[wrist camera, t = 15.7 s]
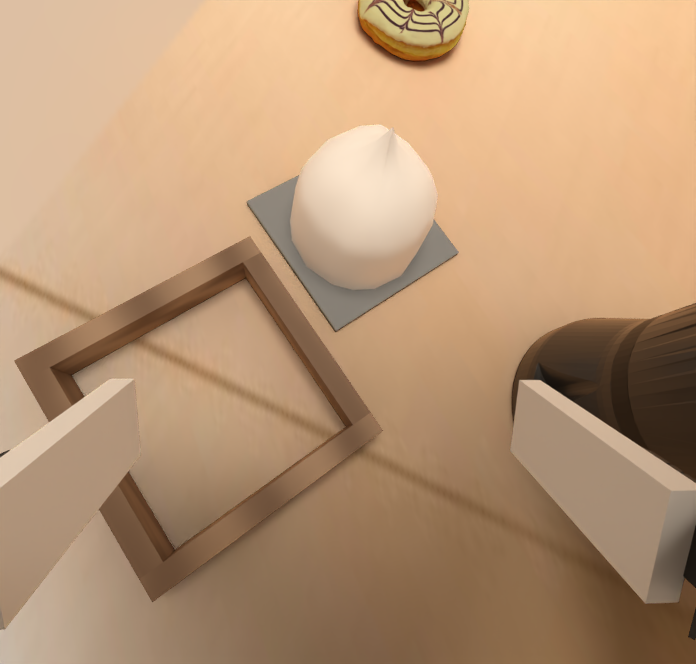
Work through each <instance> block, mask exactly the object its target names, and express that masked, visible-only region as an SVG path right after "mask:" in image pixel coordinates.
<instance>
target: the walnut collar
mask: <svg viewBox="0 0 696 664" xmlns="http://www.w3.org/2000/svg"><path fill="white" fill-rule="evenodd" d="M244 278H246V279H247V280H248V282H249V283H250V285H251V286H252V288H253V289H254V291H255V292H256V293H257V295H258V296H259V298H260V299H261V301H262V302H263V304H264V305H265V307H266V308H267V310H268V311H269V313H270V314H271V316H272V317H273V319H274V320H275V322H276V323H277V325H278V326H279V328H280V329H281V331H282V332H283V334H284V335H285V337H286V338H287V340H288V341H289V343H290V344H291V345H292V347H293V348H294V350H295V351H296V353H297V354H298V356H299V357H300V359H301V360H302V362H303V363H304V365H305V366H306V368H307V369H308V371H309V372H310V374H311V375H312V377H313V378H314V380H315V381H316V383H317V384H318V386H319V387H320V389H321V390H322V392H323V393H324V395H325V396H326V398H327V399H328V400H329V402H330V403H331V405H332V406H333V408H334V409H335V411H336V412H337V414H338V415H339V417H340V418H341V420H342V421H343V423H344V424H345V426H346V427H345V428H344V429H343V430H341V431H340V432H338V433H337V434H336V435H334V436H333V437H331V438H330V439H329V440H327V441H326V442H324V443H323V444H322V445H320V446H319V447H318V448H316V449H315V450H313V451H312V452H311V453H309V454H308V455H306V456H305V457H304V458H302V459H301V460H299V461H298V462H297V463H295V464H294V465H292V466H291V467H290V468H288V469H287V470H286V471H284V472H283V473H281V474H280V475H279V476H277V477H276V478H274V479H273V480H272V481H270V482H269V483H267V484H266V485H265V486H263V487H262V488H260V489H259V490H258V491H256V492H255V493H254V494H252V495H251V496H249V497H248V498H247V499H245V500H244V501H242V502H241V503H240V504H238V505H237V506H235V507H234V508H233V509H231V510H230V511H229V512H227V513H226V514H224V515H223V516H222V517H220V518H219V519H217V520H216V521H215V522H213V523H212V524H210V525H209V526H208V527H206V528H205V529H203V530H202V531H201V532H199V533H198V534H197V535H195V536H194V537H192V538H191V539H190V540H188V541H187V542H185V543H184V544H183V545H181V546H180V547H178V548H177V549H176V550H174V548H173V547H172V545H171V543H170V542H169V540H168V538H167V536H166V535H165V533H164V531H163V530H162V528H161V526H160V525H159V523H158V521H157V519H156V518H155V516H154V514H153V513H152V511H151V509H150V508H149V506H148V504H147V503H146V501H145V499H144V497H143V496H142V494H141V492H140V491H139V489H138V487H137V486H136V484H135V482H134V480H133V479H132V477H131V475H130V474H129V472H127V474H126V475H125V476H124V477H123V479H122V480H121V481H120V483H119V484H118V485H117V486H116V488H115V489H114V490H113V492H112V493H111V494H110V495H109V497H108V498H107V499H106V501H105V502H104V503H103V504H102V506H101V507H100V508H99V510H100V512H101V513H102V515H103V517H104V519H105V520H106V522H107V524H108V526H109V527H110V529H111V531H112V533H113V534H114V536H115V538H116V539H117V541H118V543H119V545H120V546H121V548H122V550H123V552H124V553H125V555H126V557H127V559H128V560H129V562H130V564H131V566H132V567H133V569H134V571H135V573H136V574H137V576H138V578H139V580H140V581H141V583H142V585H143V587H144V588H145V590H146V592H147V594H148V595H149V597H150V599H151V601H152V602H153V601H155V600H156V599H157V598H159V597H160V596H161V595H163V594H164V593H165V592H167V591H168V590H169V589H171V588H172V587H173V586H175V585H176V584H178V583H179V582H180V581H182V580H183V579H184V578H186V577H187V576H188V575H190V574H191V573H192V572H194V571H195V570H196V569H198V568H199V567H200V566H202V565H203V564H204V563H206V562H207V561H208V560H210V559H211V558H212V557H214V556H215V555H217V554H218V553H219V552H221V551H222V550H223V549H225V548H226V547H227V546H229V545H230V544H231V543H233V542H234V541H235V540H237V539H238V538H239V537H241V536H242V535H243V534H245V533H246V532H247V531H249V530H250V529H251V528H253V527H254V526H255V525H257V524H258V523H260V522H261V521H262V520H264V519H265V518H266V517H268V516H269V515H270V514H272V513H273V512H274V511H276V510H277V509H278V508H280V507H281V506H282V505H284V504H285V503H286V502H288V501H289V500H290V499H292V498H293V497H294V496H296V495H297V494H299V493H300V492H301V491H303V490H304V489H305V488H307V487H308V486H309V485H311V484H312V483H313V482H315V481H316V480H317V479H319V478H320V477H321V476H323V475H324V474H325V473H327V472H328V471H329V470H331V469H332V468H333V467H335V466H336V465H337V464H339V463H340V462H342V461H343V460H344V459H346V458H347V457H348V456H350V455H351V454H352V453H354V452H355V451H356V450H358V449H359V448H360V447H362V446H363V445H364V444H366V443H367V442H368V441H370V440H371V439H372V438H374V437H375V436H376V435H378V434H379V433H381V432H382V431H383V430H382V429H381V427H380V426H379V424H378V423H377V421H376V420H375V418H374V417H373V415H372V414H371V412H370V411H369V410H368V408H367V407H366V405H365V404H364V402H363V401H362V399H361V398H360V396H359V395H358V393H357V392H356V391H355V389H354V388H353V386H352V385H351V383H350V382H349V380H348V379H347V377H346V376H345V374H344V373H343V372H342V370H341V369H340V367H339V366H338V364H337V363H336V361H335V360H334V358H333V357H332V355H331V354H330V353H329V351H328V350H327V348H326V347H325V345H324V344H323V342H322V341H321V339H320V338H319V336H318V335H317V334H316V332H315V331H314V329H313V328H312V326H311V325H310V323H309V322H308V320H307V319H306V317H305V316H304V315H303V313H302V312H301V310H300V309H299V307H298V306H297V304H296V303H295V301H294V300H293V298H292V297H291V296H290V294H289V293H288V291H287V290H286V288H285V287H284V285H283V284H282V282H281V281H280V280H279V278H278V277H277V275H276V274H275V272H274V271H273V269H272V268H271V266H270V265H269V263H268V262H267V261H266V259H265V258H264V256H263V255H262V253H261V252H260V250H259V249H258V247H257V246H256V244H255V243H254V242H253V240H252V239H251V237H250V236H249V237H248V238H246V239H244V240H242V241H240V242H238V243H236V244H234V245H232V246H230V247H229V248H227V249H225V250H223V251H221V252H219V253H217V254H215V255H213V256H212V257H210V258H208V259H206V260H204V261H202V262H200V263H198V264H196V265H195V266H193V267H191V268H189V269H187V270H185V271H183V272H181V273H179V274H177V275H176V276H174V277H172V278H170V279H168V280H166V281H164V282H162V283H160V284H159V285H157V286H155V287H153V288H151V289H149V290H147V291H145V292H143V293H142V294H140V295H138V296H136V297H134V298H132V299H130V300H128V301H126V302H124V303H123V304H121V305H119V306H117V307H115V308H113V309H111V310H109V311H107V312H106V313H104V314H102V315H100V316H98V317H96V318H94V319H92V320H90V321H88V322H87V323H85V324H83V325H81V326H79V327H77V328H75V329H73V330H71V331H70V332H68V333H66V334H64V335H62V336H60V337H58V338H56V339H54V340H53V341H51V342H49V343H47V344H45V345H43V346H41V347H39V348H37V349H35V350H34V351H32V352H30V353H28V354H26V355H24V356H22V357H20V358H18V359H17V360H15V363H16V365H17V367H18V368H19V370H20V372H21V374H22V375H23V377H24V379H25V381H26V382H27V384H28V386H29V388H30V389H31V391H32V393H33V395H34V396H35V398H36V400H37V402H38V403H39V405H40V407H41V409H42V410H43V412H44V414H45V416H46V417H47V419H48V421H49V422H51V421H52V420H53V419H55V418H56V417H58V416H59V415H60V414H62V413H63V412H64V411H66V410H67V409H69V408H70V407H71V406H73V405H74V404H76V403H77V402H78V401H80V400H81V399H83V398H84V396H83V394H82V392H81V391H80V389H79V387H78V386H77V384H76V382H75V380H74V379H73V377H72V374H74V373H76V372H77V371H79V370H81V369H83V368H85V367H86V366H88V365H90V364H92V363H94V362H95V361H97V360H99V359H101V358H103V357H104V356H106V355H108V354H110V353H112V352H113V351H115V350H117V349H119V348H121V347H122V346H124V345H126V344H128V343H130V342H131V341H133V340H135V339H137V338H138V337H140V336H142V335H144V334H146V333H147V332H149V331H151V330H153V329H155V328H156V327H158V326H160V325H162V324H164V323H165V322H167V321H169V320H171V319H173V318H174V317H176V316H178V315H180V314H182V313H183V312H185V311H187V310H189V309H191V308H192V307H194V306H196V305H198V304H200V303H201V302H203V301H205V300H207V299H209V298H210V297H212V296H214V295H216V294H217V293H219V292H221V291H223V290H225V289H226V288H228V287H230V286H232V285H234V284H235V283H237V282H239V281H241V280H243V279H244Z"/></svg>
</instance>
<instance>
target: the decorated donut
mask: <svg viewBox="0 0 696 664" xmlns="http://www.w3.org/2000/svg"><path fill="white" fill-rule="evenodd" d="M468 12H469V2H468V0H359V2H358V16H359V20H360V23H361V27H362V29H363V30H364V31H365V32H366V33H367V34H368V35H369V36H370V37H372V39H373V41H374V42H375V43H377V44H379V45H380V46H382V47H383V48H385V49H386V50H387V51H388V52H390V53H392V54H393V55H396V56H398V57H400V58H402V59H404V60H405V59H406V60H411V61H422V60H423V61H426V60H429V59H433V58H437V57H439V56H442V55H444V54H445V53H446V52H448V51H449V50H451V49H452V48H453V47H454V46H455V45H456V44H457V43H458V41H459V39H460V36H461V34H462V33H463V30H464V27H465V25H466V19H467V15H468Z"/></svg>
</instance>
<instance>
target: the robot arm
mask: <svg viewBox="0 0 696 664" xmlns="http://www.w3.org/2000/svg"><path fill="white" fill-rule="evenodd" d="M512 401H513V415H514V425H513V433H512V441H511V449H510V451H511V452H512V454H513V455H514V456H515V457H516V458H517V459H518V460H519V461H520V463H521V464H522V465H523V466H524V467H525V468H526V469H527V470H528V472H529V473H530V474H531V475H532V476H533V477H534V478H535V480H536V481H537V482H538V483H539V484H540V485H541V486H542V487H543V489H544V490H545V491H546V492H547V493H548V494H549V495H550V496H551V498H552V499H553V500H554V501H555V502H556V503H557V504H558V505H559V507H560V508H561V509H562V510H563V511H564V512H565V513H566V515H567V516H568V517H569V518H570V519H571V520H572V521H573V522H574V524H575V525H576V526H577V527H578V528H579V529H580V530H581V531H582V533H583V534H584V535H585V536H586V537H587V538H588V539H589V540H590V542H591V543H592V544H593V545H594V546H595V547H596V548H597V550H598V551H599V552H600V553H601V554H602V555H603V556H604V557H605V559H606V560H607V561H608V562H609V563H610V564H611V565H612V566H613V568H614V569H615V570H616V571H617V572H618V573H619V574H620V575H621V577H622V578H623V579H624V580H625V581H626V582H627V583H628V584H629V586H630V587H631V588H632V589H633V590H634V591H635V592H636V594H637V595H638V596H639V597H640V598H641V599H642V600H643V601H644V603H645V604H649V603H674V602H679V598H680V594H681V590H682V586H683V582H684V578H686V579H687V580H688V581H689V582H690V583H691V584H692V585H693V586H694V587H695V588H696V303H695V304H692V305H689V306H686V307H683V308H680V309H678V310H675V311H672V312H669V313H666V314H664V315H661V316H658V317H655V318H652V319H623V318H590V319H584V320H579V321H575V322H572V323H570V324H567V325H565V326H562V327H560V328H557V329H555V330H553V331H551V332H549V333H547V334H545V335H544V336H542V337H541V338H540V339H539V340H537V341H536V342H535V343H534V344H533V345H532V346H531V348H530V349H529V350H528V351H527V353H526V354H525V356H524V358H523V359H522V361H521V363H520V365H519V368H518V371H517V374H516V377H515V381H514V387H513V398H512ZM140 456H141V447H140V435H139V424H138V413H137V402H136V390H135V379H109V380H108V381H106V382H105V383H104V384H102V385H101V386H99V387H98V388H97V389H95V390H94V391H92V392H91V393H90V394H88V395H87V396H85V397H84V398H83V399H81V400H80V401H78V402H77V403H76V404H74V405H73V406H71V407H70V408H69V409H67V410H66V411H64V412H63V413H62V414H60V415H59V416H58V417H56V418H55V419H53V420H52V421H51V422H49V423H48V424H46V425H45V426H44V427H42V428H41V429H39V430H38V431H37V432H35V433H34V434H32V435H31V436H30V437H28V438H27V439H25V440H24V441H23V442H21V443H20V444H18V445H17V446H16V447H14V448H13V449H12V450H8V451H6V452H3V453H1V454H0V630H2V629H6V627H7V626H8V625H9V623H10V622H11V621H12V620H13V618H14V617H15V616H16V615H17V613H18V612H19V611H20V609H21V608H22V607H23V606H24V604H25V603H26V602H27V600H28V599H29V598H30V597H31V595H32V594H33V593H34V591H35V590H36V589H37V588H38V586H39V585H40V584H41V583H42V581H43V580H44V579H45V577H46V576H47V575H48V574H49V572H50V571H51V570H52V568H53V567H54V566H55V565H56V563H57V562H58V561H59V559H60V558H61V557H62V556H63V554H64V553H65V552H66V550H67V549H68V548H69V547H70V545H71V544H72V543H73V542H74V540H75V539H76V538H77V536H78V535H79V534H80V533H81V531H82V530H83V529H84V527H85V526H86V525H87V524H88V522H89V521H90V520H91V518H92V517H93V516H94V515H95V513H96V512H97V511H98V509H99V508H100V507H101V506H102V504H103V503H104V502H105V501H106V499H107V498H108V497H109V495H110V494H111V493H112V492H113V490H114V489H115V488H116V486H117V485H118V484H119V483H120V481H121V480H122V479H123V477H124V476H125V475H126V474H127V472H128V471H129V470H130V468H131V467H132V466H133V465H134V463H135V462H136V461H137V460H138V458H139V457H140ZM688 637H689V638H692V639H694V640H695V638H696V609H695V613H694V617H693V621H692V625H691V628H690V632H689V636H688Z"/></svg>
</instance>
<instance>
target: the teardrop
mask: <svg viewBox="0 0 696 664" xmlns="http://www.w3.org/2000/svg"><path fill="white" fill-rule="evenodd" d="M437 198H438V194H437V190H436V187H435V183H434V180H433V176H432V174H431V173H430V171H429V169H428V167H427V166H426V164H425V163H424V162H423V161H422V159H421V158H420V157H419V155H418V154H417V153H416V152H415V150H414V149H413V148H412V147H411V146H410V144H409V143H408V142H406V141H405V140H403V139H402V138H400V137H399V136H398V135H397V134H395V132H394V128H391V129H390V130H389V129H387V128H386V127H384V126H382V125H365V126H358V127H356V128H354V129H351V130H349V131H346V132H344V133H341V134H339V135H337V136H335V137H332V138H330V139H328V140H327V141H326V142H325V143H324V144H323V145H322V146H321V147H320V148H319V149H318V150H317V151H316V152H315V153H314V154H313V155H312V156H311V157H310V158H309V160H308V161H307V162H306V163H305V165H304V166H303V167H302V168H301V172H300V175H299V178H298V181H297V184H296V187H295V193H294V199H293V206H292V212H291V218H290V226H291V236H292V241H293V243H294V245H295V247H296V249H297V250H298V252H299V254H300V256H301V258H302V259H303V261H304V263H305V265H306V267H308V268H309V269H311V270H312V271H314V272H315V273H316V274H318V275H319V276H321V277H322V278H324V279H325V280H326V281H328V282H329V283H331V284H332V285H336V286H340V287H343V288H347V289H351V290H363V289H375V288H378V287H380V286H382V285H384V284H386V283H388V282H390V281H392V280H394V279H396V278H398V277H400V276H401V275H402V274H403V272H404V271H405V269H406V268H407V266H408V265H409V264H410V262H411V261H412V259H413V258H414V256H415V255H416V253H417V252H418V250H419V248H420V246H421V245H422V243H423V241H424V239H425V237H426V236H427V234H428V232H429V230H430V229H431V227H432V225H433V220H434V215H435V211H436V206H437Z"/></svg>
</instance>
